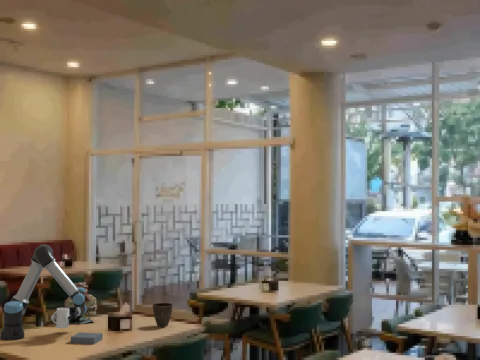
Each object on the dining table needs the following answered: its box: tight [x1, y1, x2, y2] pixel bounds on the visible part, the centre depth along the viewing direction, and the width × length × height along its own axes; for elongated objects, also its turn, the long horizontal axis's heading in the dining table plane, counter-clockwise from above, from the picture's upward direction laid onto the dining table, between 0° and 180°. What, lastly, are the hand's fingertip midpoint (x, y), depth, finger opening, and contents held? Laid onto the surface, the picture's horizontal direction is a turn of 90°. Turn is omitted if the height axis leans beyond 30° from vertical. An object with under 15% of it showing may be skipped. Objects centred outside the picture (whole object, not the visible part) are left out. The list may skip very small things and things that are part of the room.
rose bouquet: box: [63, 281, 98, 326], centre depth 450 cm, size 26×29×30 cm
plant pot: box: [152, 302, 173, 328], centre depth 434 cm, size 15×15×16 cm
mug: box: [51, 307, 70, 329], centre depth 385 cm, size 12×8×12 cm
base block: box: [70, 332, 103, 345], centre depth 382 cm, size 16×14×4 cm
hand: (58, 318), depth 381 cm, fingers closed on mug, 9 cm apart
